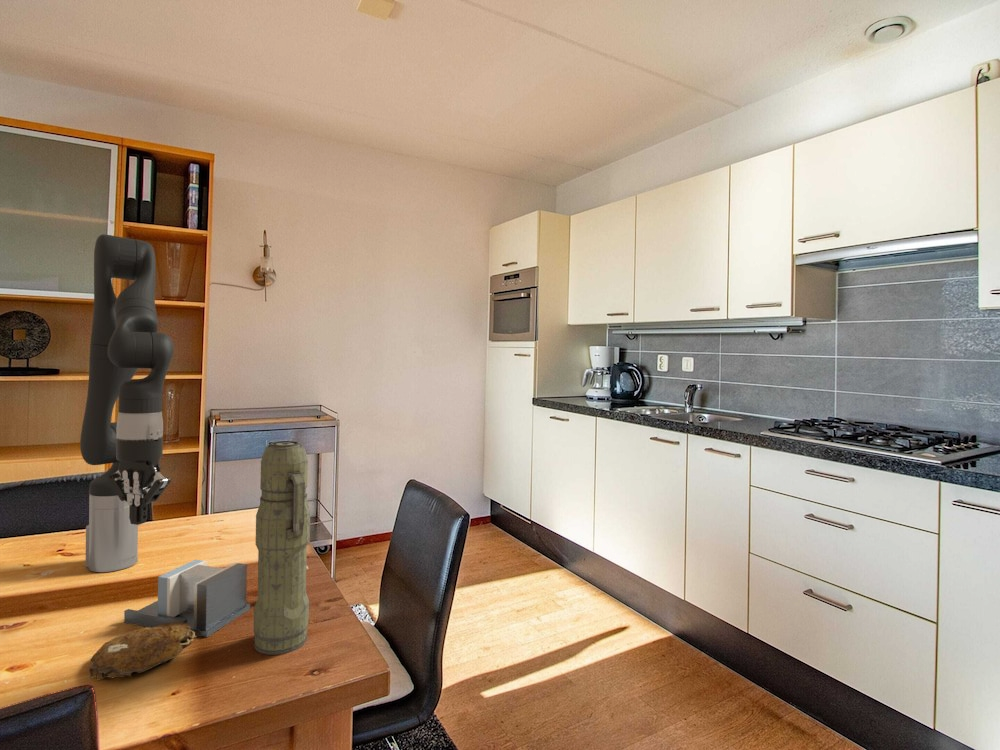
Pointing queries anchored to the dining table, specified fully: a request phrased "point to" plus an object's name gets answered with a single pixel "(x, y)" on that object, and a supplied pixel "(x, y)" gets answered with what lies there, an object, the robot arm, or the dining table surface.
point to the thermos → (282, 550)
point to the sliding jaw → (172, 589)
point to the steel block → (192, 587)
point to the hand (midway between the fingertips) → (138, 523)
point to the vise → (204, 603)
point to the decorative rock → (140, 650)
